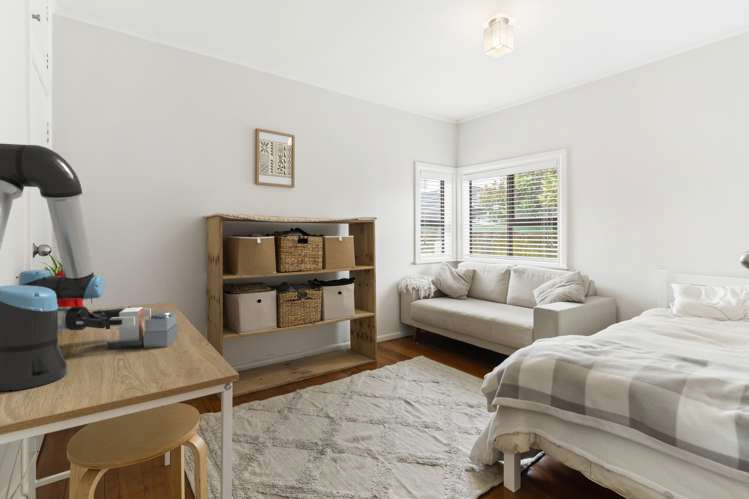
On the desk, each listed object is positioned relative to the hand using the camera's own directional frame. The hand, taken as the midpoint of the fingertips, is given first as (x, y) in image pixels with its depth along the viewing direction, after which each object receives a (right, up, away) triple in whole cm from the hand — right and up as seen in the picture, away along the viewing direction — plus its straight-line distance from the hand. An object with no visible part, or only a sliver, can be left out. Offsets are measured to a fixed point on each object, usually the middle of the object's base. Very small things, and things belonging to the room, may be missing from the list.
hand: (143, 316), depth 128 cm
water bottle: (-43, -8, +22) cm, 49 cm away
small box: (-3, -8, 0) cm, 9 cm away
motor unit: (0, -9, 0) cm, 9 cm away
